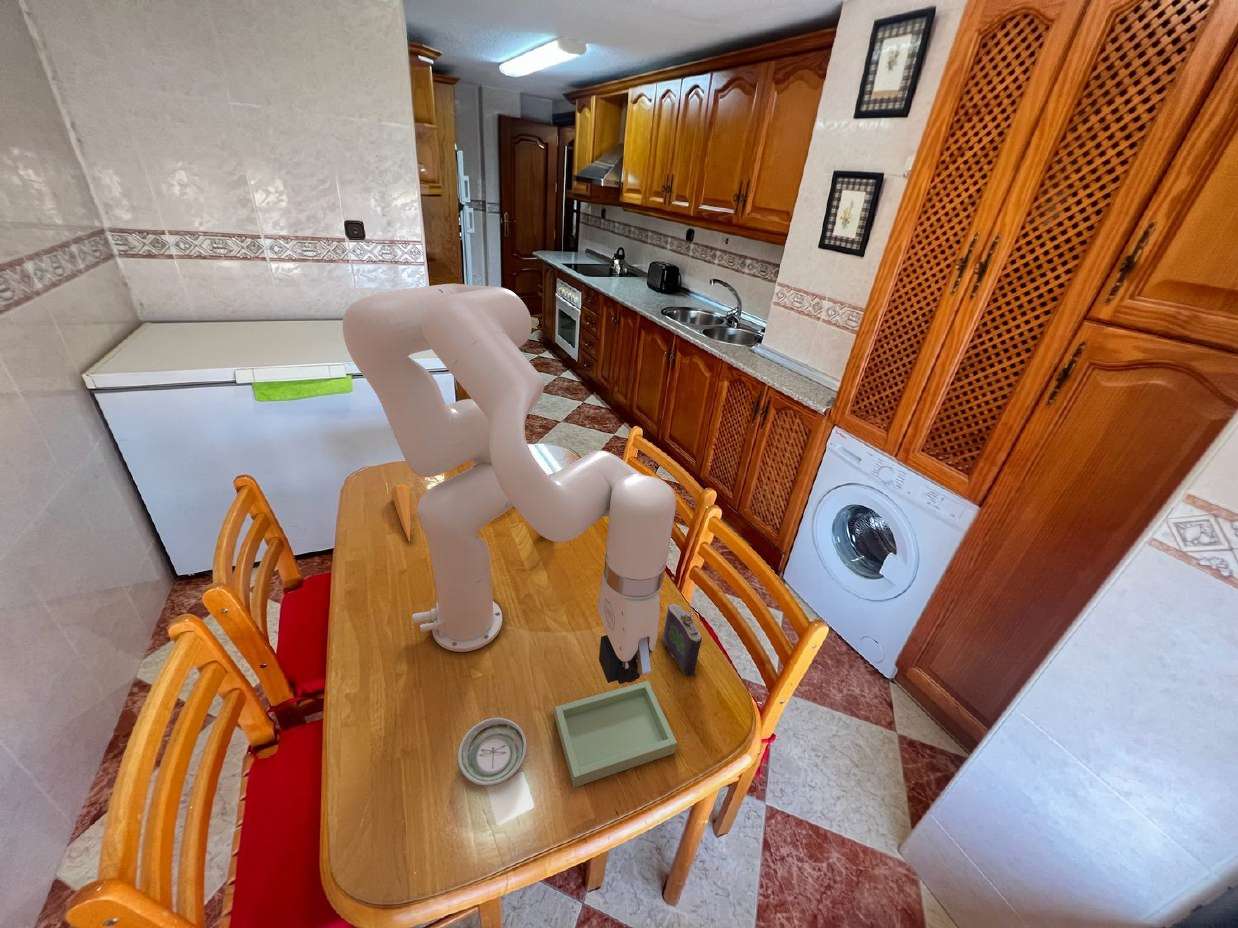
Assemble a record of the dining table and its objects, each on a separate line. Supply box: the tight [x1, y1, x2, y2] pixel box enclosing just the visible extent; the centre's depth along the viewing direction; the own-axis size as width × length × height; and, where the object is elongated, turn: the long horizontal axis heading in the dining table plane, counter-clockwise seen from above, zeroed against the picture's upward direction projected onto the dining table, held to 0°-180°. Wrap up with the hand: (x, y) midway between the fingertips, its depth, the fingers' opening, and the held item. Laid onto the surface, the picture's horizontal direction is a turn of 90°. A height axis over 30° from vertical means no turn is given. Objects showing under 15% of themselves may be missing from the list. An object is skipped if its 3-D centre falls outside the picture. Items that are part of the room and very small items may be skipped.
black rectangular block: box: [598, 634, 651, 684], centre depth 70 cm, size 6×4×5 cm, turn 111°
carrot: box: [390, 483, 412, 543], centre depth 117 cm, size 20×4×4 cm, turn 26°
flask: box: [661, 603, 703, 677], centre depth 88 cm, size 9×3×11 cm, turn 26°
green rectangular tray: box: [554, 680, 678, 788], centre depth 76 cm, size 16×11×3 cm
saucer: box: [457, 717, 528, 787], centre depth 72 cm, size 10×10×2 cm
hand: (622, 664), depth 71 cm, fingers closed on black rectangular block, 4 cm apart
